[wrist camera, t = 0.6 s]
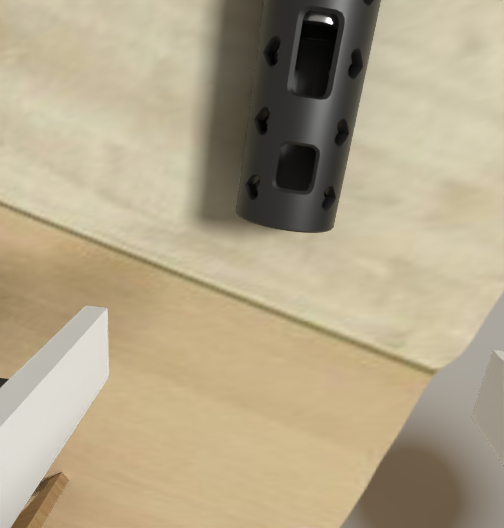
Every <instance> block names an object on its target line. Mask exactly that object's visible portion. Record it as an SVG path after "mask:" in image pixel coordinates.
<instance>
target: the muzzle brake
mask: <svg viewBox="0 0 504 528" xmlns="http://www.w3.org/2000/svg"><path fill="white" fill-rule="evenodd" d="M380 2H381V0H264V3H263V10H262V17H261V25H260V32H259V40H258V50H257V57H256V65H255V70H254V78H253V85H252V93H251V100H250V110H249V117H248V125H247V132H246V138H245V145H244V153H243V160H242V168H241V178H240V185H239V191H238V198H237V206H236V213H237V214H238V215H239V217H241V218H243V219H244V220H247V221H249V222H252V223H255V224H258V225H262V226H266V227H270V228H275V229H281V230H287V231H294V232H305V233H319V232H327V231H329V230H331V229H332V228H333V227H334V222H335V217H336V212H337V207H338V203H339V198H340V193H341V188H342V184H343V179H344V174H345V169H346V164H347V160H348V155H349V150H350V145H351V141H352V136H353V131H354V126H355V121H356V117H357V112H358V107H359V102H360V97H361V93H362V88H363V83H364V78H365V74H366V69H367V64H368V59H369V54H370V50H371V45H372V40H373V35H374V31H375V26H376V21H377V16H378V11H379V7H380ZM277 56H278V60H277ZM268 117H269V119H268ZM267 126H268V128H267ZM258 185H259V186H258Z"/></svg>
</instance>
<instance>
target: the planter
mask: <svg viewBox="0 0 504 528" xmlns="http://www.w3.org/2000/svg"><path fill="white" fill-rule="evenodd" d="M68 481H69V480H68V479H67V478H66V477H65V476H64V474H63V473H62V472H61V473H59V474H57V475H55V476H53V477H51V479H50V480H49V482H48V483H47V484H46V486H45V487H44V488H43V489H42V491H41V492H40V493H39V494H38V495H37V497H36V498H35V499H34V500H33V501H32V502H31V503H30V504H29V505H28V506H27V507H26V508H25V509H24V510H23V511H22V512H21V513H20V514H19V516H18V517H17V519H16V520H15V522H14V523H13V525H12V526H11V528H41V527H42V525H43V523H44V522H45V520H46V518H47V516H48V515H49V513H50V511H51V510H52V508H53V506H54V505H55V503H56V501H57V499H58V498H59V496H60V494H61V493H62V491H63V489H64V488H65V486H66V484H67V483H68Z"/></svg>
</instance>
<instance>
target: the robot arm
mask: <svg viewBox="0 0 504 528" xmlns="http://www.w3.org/2000/svg"><path fill="white" fill-rule="evenodd" d="M108 377H109V362H108V308H104V307H94V306H84V307H83V308H82V309H81V310H80V311H79V312H78V313H77V314H76V315H75V316H74V317H73V318H72V319H71V320H70V321H69V322H68V323H67V324H66V325H65V326H64V327H63V328H62V329H61V330H60V331H59V332H57V333H56V334H55V335H54V336H53V337H52V338H51V339H50V340H49V341H48V342H47V343H46V344H45V345H44V346H43V347H42V348H41V349H40V350H39V351H38V352H37V353H36V354H35V355H34V356H33V357H32V358H31V359H30V360H29V361H27V362H26V363H25V364H24V365H23V366H22V367H21V368H20V369H19V370H18V371H17V372H16V373H15V374H14V375H13V376H12V377H11V378H10V379H4V378H0V528H11V526H12V525H13V523H14V522H15V520H16V519H17V517H18V516H19V514H20V513H21V511H22V509H23V508H24V506H25V505H26V503H27V502H28V500H29V499H30V497H31V496H32V494H33V493H34V491H35V489H36V488H37V486H38V485H39V483H40V482H41V480H42V479H43V477H44V476H45V474H46V473H47V471H48V469H49V468H50V466H51V465H52V463H53V462H54V460H55V459H56V457H57V456H58V454H59V453H60V451H61V450H62V448H63V446H64V445H65V443H66V442H67V440H68V439H69V437H70V436H71V434H72V433H73V431H74V430H75V428H76V426H77V425H78V423H79V422H80V420H81V419H82V417H83V416H84V414H85V413H86V411H87V410H88V408H89V406H90V405H91V403H92V402H93V400H94V399H95V397H96V396H97V394H98V393H99V391H100V390H101V388H102V386H103V385H104V383H105V382H106V380H107V379H108ZM471 418H472V419H473V421H474V422H475V424H476V425H477V427H478V428H479V430H480V431H481V433H482V434H483V436H484V437H485V439H486V440H487V441H488V443H489V445H490V446H491V448H492V449H493V450H494V452H495V454H496V455H497V456H498V458H499V460H500V461H501V463H502V464H503V466H504V351H497V350H493V351H492V354H491V357H490V360H489V363H488V367H487V370H486V373H485V376H484V379H483V382H482V385H481V388H480V391H479V394H478V398H477V401H476V404H475V407H474V410H473V413H472V416H471Z"/></svg>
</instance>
